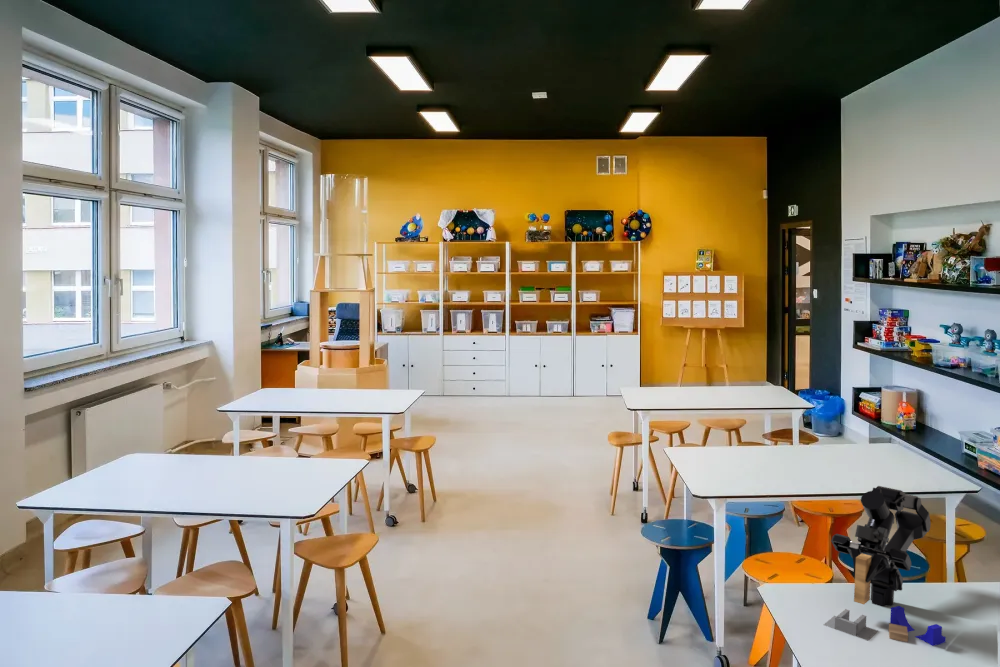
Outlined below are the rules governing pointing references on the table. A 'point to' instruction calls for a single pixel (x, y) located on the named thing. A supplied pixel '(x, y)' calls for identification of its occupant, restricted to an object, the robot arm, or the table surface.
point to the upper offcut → (898, 632)
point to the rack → (851, 625)
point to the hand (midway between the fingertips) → (860, 580)
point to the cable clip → (899, 618)
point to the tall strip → (862, 579)
